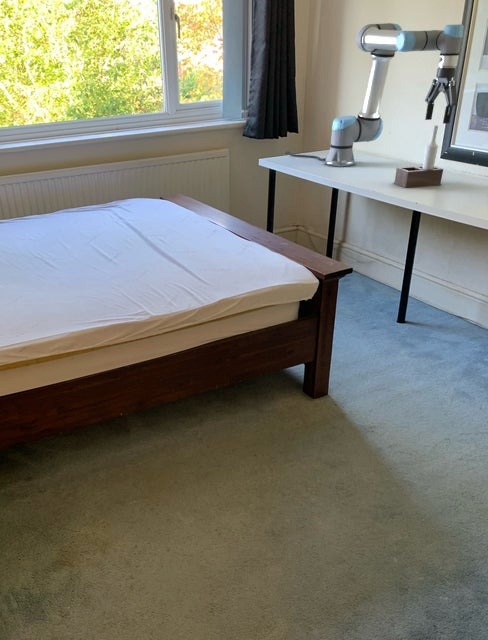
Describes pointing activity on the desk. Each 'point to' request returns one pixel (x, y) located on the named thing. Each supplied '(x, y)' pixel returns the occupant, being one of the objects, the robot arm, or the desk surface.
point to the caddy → (418, 176)
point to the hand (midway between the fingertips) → (436, 121)
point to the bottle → (431, 151)
